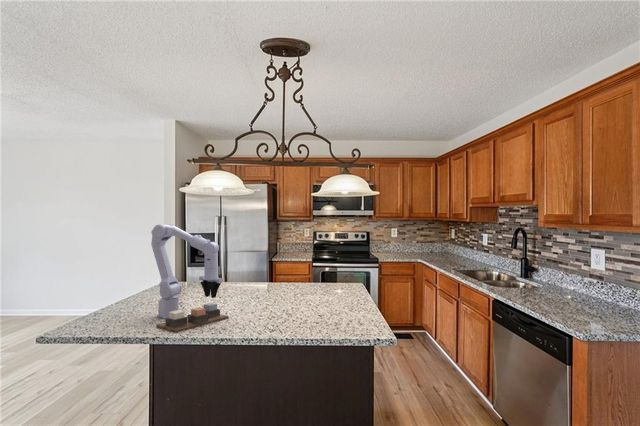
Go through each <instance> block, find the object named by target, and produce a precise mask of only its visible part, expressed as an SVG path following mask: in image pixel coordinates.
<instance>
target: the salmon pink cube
mask: <svg viewBox="0 0 640 426" xmlns="http://www.w3.org/2000/svg"><path fill="white" fill-rule="evenodd" d="M190 314H191V315H193V316H197V317H198V316H202V315H206V309H205V308H204V307H194V308H191V309H190Z"/></svg>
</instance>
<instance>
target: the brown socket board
mask: <svg viewBox="0 0 640 426" xmlns="http://www.w3.org/2000/svg"><path fill="white" fill-rule="evenodd" d="M229 317H230V316H228V315H225V314H221V309H219V308H217V310H214V311H206V315H202V316H198V317H197V316H193V315H191V313H189V314H188V315H187V316H184V318H181V319H176V320H173V319H169V317H168V318H166V319H165V322H161V323H157V324H155V326H156V328H158V329H162V330H165V331H168V332H171V333H175V334H176V333H179V332H185V331H187V330H191V329H195V328H198V327H202V326H206V325H209V324H213V323H216V322H217V323H218V322H220V321H224V320H227V319H230V318H229Z"/></svg>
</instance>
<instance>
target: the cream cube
mask: <svg viewBox="0 0 640 426" xmlns="http://www.w3.org/2000/svg"><path fill="white" fill-rule="evenodd" d="M184 317H185V312H184V311H183V310H180V309H179V310H176V311H172V312H169V319H173V320H176V319H181V318H184Z"/></svg>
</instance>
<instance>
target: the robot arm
mask: <svg viewBox="0 0 640 426" xmlns="http://www.w3.org/2000/svg"><path fill="white" fill-rule="evenodd" d="M150 233H151V236H152V237H151V242H150V243H151V244H150V245H151V248H152V253H153V255H154V258H155V263H156V266H157V269H158V273H159V276H160V279H161V280H160V282H159V284H158V285H159V296H160V299H159V300H158V306H157V307H158V312H157V313H158V314H157V315H156V317H158V318H160V319H161V318H162V319H165V320H166V318H168V317H169V312H172V311H176V310H179V311H180V309H179V307H180V306H179V305H180V298H179V297H180V294H181V292H182V289H183V288H182V285H181V284H180V283H179V281H178V279H177V278H176V277H175V275H174V274H173V271H172V266H171V264H170V261H169V257H168V252H167V249H166V247H165V245H166V243H167V241H168V240H170V239H171V238H172V237H177V238H179V239H182V240H184V241H186V242H188V243H189V244H190V246H191V247H193V248H194V249H197V250H199V251H201V252H202V253H203V255H204V268H203V269H204V274H203V275H200V276H199V277H198V279H199V281H200V285H201V287H202V290H203V293H204V296H205V297H206V298H207V297H211V299H215V298H216V297H217V294H218V290H219V288H220V286H221V284H223V278H221V277H218V252H219V251H220V246H219V243H217V242H216V241H211V239H206V238H204V237H202V235H201V234H195V235H193V234H190V233H188V232H187V231H185V230H183V229H181V228H179V227H178V226H175V225H173V224H169V223H168V224H156V225H154V227H153V228H152V230H151V232H150Z"/></svg>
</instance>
